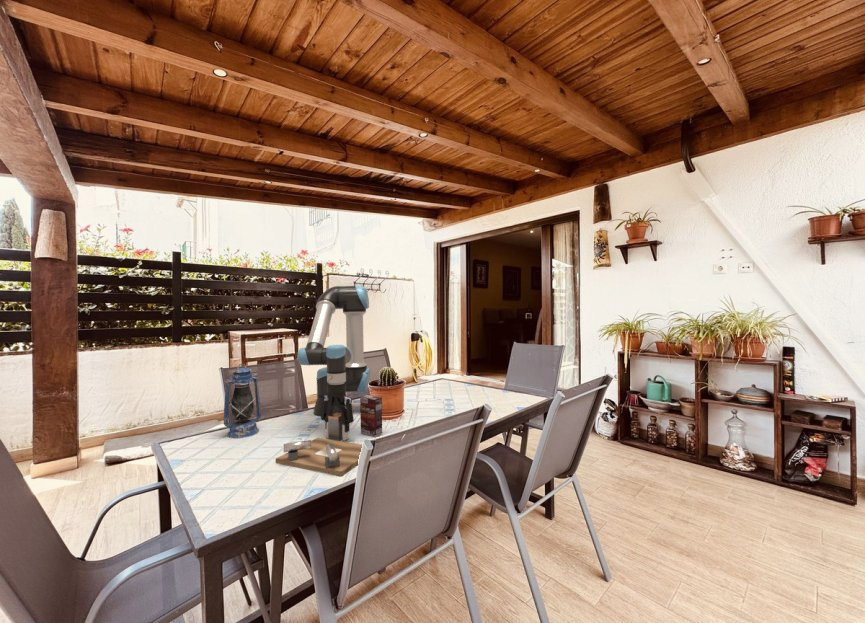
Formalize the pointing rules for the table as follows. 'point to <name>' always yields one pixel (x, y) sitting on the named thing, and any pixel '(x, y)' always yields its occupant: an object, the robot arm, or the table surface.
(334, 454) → the shaft
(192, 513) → the table surface
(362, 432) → the supplement box
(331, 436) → the block
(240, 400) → the lantern
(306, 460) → the cradle board
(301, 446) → the shaft
